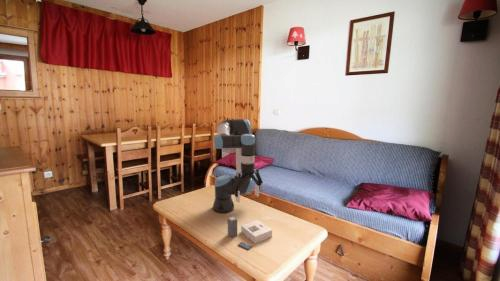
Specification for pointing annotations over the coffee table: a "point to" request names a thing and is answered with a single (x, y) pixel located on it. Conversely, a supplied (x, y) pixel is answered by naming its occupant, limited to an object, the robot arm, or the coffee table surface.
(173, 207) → the coffee table surface
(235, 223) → the block
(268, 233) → the outlet plate
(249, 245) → the phone
